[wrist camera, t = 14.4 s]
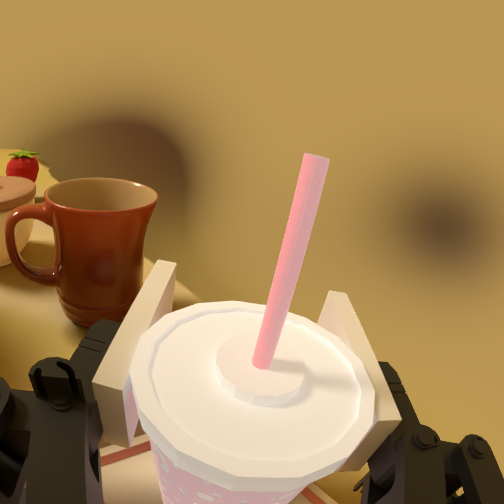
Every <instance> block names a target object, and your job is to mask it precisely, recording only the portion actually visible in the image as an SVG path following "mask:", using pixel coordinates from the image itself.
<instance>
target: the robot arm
mask: <svg viewBox="0 0 504 504" xmlns="http://www.w3.org/2000/svg"><path fill="white" fill-rule="evenodd" d="M176 266H177V263H173V262H168V261H163V260H158V261H157V262H156V264H155V265H154V267H153V269H152V271H151V272H150V274H149V276H148V277H147V279H146V281H145V283H144V284H143V286H142V288H141V290H140V291H139V293H138V295H137V297H136V298H135V300H134V302H133V304H132V306H131V307H130V309H129V311H128V313H127V315H126V317H125V318H124V320H123V322H122V323H119V322H115V321H111V320H107V319H103V318H102V319H101V320H99V321H98V322H96V323H95V324H93V325H92V326H91V327H90V328H89V330H88V331H87V333H86V334H85V336H84V339H82V341H81V342H80V344H79V347H77V349H76V350H75V352H74V354H73V355H72V357H71V358H70V360H67V359H63V358H59V357H51V358H46V359H43V360H40V361H38V362H37V363H36V364H35V365H33V366H32V368H31V370H30V372H29V374H28V375H29V378H30V381H31V384H32V386H33V389H34V391H23V390H14V389H10V387H9V385H8V384H7V382H6V381H5V379H3V378H2V377H0V504H19V501H20V498H21V495H22V491H23V488H24V485H25V482H26V500H25V504H104V499H103V489H102V475H101V458H100V450H99V446H98V445H99V442H100V440H101V437H102V434H103V436H104V440H105V442H107V443H110V444H114V445H117V446H121V447H124V448H128V449H130V448H131V444H132V441H133V437H134V434H135V430H136V427H137V424H138V420H139V415H138V411H137V407H136V403H135V399H134V395H133V391H132V389H133V386H132V382H131V378H130V365H131V362H132V359H133V356H134V353H135V351H136V348H137V345H138V342H139V339H140V337H141V335H142V334H143V333H144V332H146V331H147V330H148V329H149V328H150V327H151V326H153V325H154V324H155V323H156V322H157V321H158V320H160V319H161V318H162V317H163V316H164V315H165V314H168V313H171V312H172V306H173V295H174V285H175V276H176ZM317 325H319V326H320V327H322V328H324V329H325V330H327V331H329V332H330V333H332V334H334V335H335V336H337V337H338V338H339V339H340V340H341V341H342V342H343V343H344V344H345V345H346V346H347V347H348V348H349V349H350V350H351V351H352V352H353V353H354V354H355V355H356V356H357V357H358V358H359V359H360V360H361V361H362V363H363V365H364V367H365V370H366V372H367V374H368V376H369V378H370V381H371V383H372V385H373V387H374V390H375V401H374V415H373V424H372V426H371V427H370V429H369V430H368V431H367V433H366V434H365V436H364V437H363V438H362V440H361V441H360V442H359V444H358V445H357V446H356V448H355V449H354V450H353V452H352V453H351V454H350V455H349V457H348V458H347V459H346V460H345V462H343V463H341V464H340V466H339V467H338V468H337V472H343V471H359V470H360V469H361V468H362V467H363V465H364V464H365V463H366V462H368V466H369V469H370V471H369V472H368V473H367V474H366V475H365V476H364V477H363V478H362V479H361V480H360V481H359V482H358V483H357V484H356V485H355V487H354V489H353V491H357V490H358V489H359V488H360V487H361V486H362V485H363V489H362V490H361V493H362V496H361V504H504V479H503V476H502V473H501V471H500V469H499V466H498V464H497V461H496V459H495V457H494V455H493V452H492V450H491V448H490V446H489V444H488V443H487V441H485V440H484V439H483V438H482V437H480V436H478V435H473V434H470V435H467V436H465V438H464V439H463V440H462V441H461V442H460V443H459V444H457V443H451V442H446V441H441V440H440V438H439V436H438V435H437V433H436V432H435V431H434V430H432V429H431V428H430V427H428V426H425V425H421V424H420V423H419V420H418V418H417V416H416V413H415V411H414V409H413V407H412V404H411V402H410V400H409V398H408V396H407V394H405V392H406V391H405V389H404V387H403V385H401V380H400V378H399V376H398V375H397V372H396V371H395V370H394V369H393V368H392V367H391V366H390V365H389V363H387V362H378V361H377V359H376V357H375V355H374V352H373V350H372V348H371V346H370V344H369V341H368V339H367V337H366V335H365V333H364V330H363V328H362V326H361V324H360V322H359V320H358V317H357V315H356V313H355V311H354V309H353V307H352V305H351V303H350V300H349V299H348V296H347V294H346V293H341V292H335V291H329V292H328V295H327V298H326V301H325V303H324V306H323V309H322V311H321V314H320V317H319V320H318V323H317ZM460 487H463V491H464V494H462V495H461V496H458V495H457V494H456V491H457V490H458V489H459V488H460Z"/></svg>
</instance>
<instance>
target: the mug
mask: <svg viewBox="0 0 504 504" xmlns="http://www.w3.org/2000/svg"><path fill="white" fill-rule="evenodd" d="M158 198H159V197H158V194H157V193H156V192H155V191H154V190H153V189H151V188H149V187H147V186H145V185H142V184H139V183H136V182H132V181H127V180H121V179H113V178H82V179H73V180H68V181H64V182H60V183H57V184H55V185H53V186H51V187H49V188H48V189H46V191H45V193H44V202H42V203H34V204H26V205H22V206H19V207H17V208H15V209H14V210H13V211H12V212H11V213H10V214H9V216H8V217H7V220H6V223H5V234H4V235H5V244H6V249H7V253H8V256H9V258H10V261H11V263H12V264H13V266H14V268H15V269H16V270H17V272H18V273H19V274H20V275H21V276H22V277H24V278H25V279H27V280H29V281H31V282H34V283H37V284H40V285H43V286H47V287H56V289H57V293H58V295H59V301H60V303H61V305H62V309H63V311H64V313H65V314H66V316H67V317H68V318H69V319H70V320H72V321H73V322H75V323H77V324H79V325H82V326H85V327H89V328H90V327H91V326H92V325H93V324H95V323H96V322H98V321H99V320H101V319H102V318H103V319H107V320H111V321H115V322H119V323H122V322H123V320H124V318H125V317H126V315H127V313H128V311H129V309H130V307H131V306H132V304H133V302H134V300H135V298H136V297H137V295H138V293H139V291H140V290H141V288H142V286H143V265H144V240H145V235H146V231H147V227H148V224H149V221H150V219H151V216H152V214H153V212H154V209H155V207H156V205H157V202H158ZM23 219H37V220H40V221H42V222H44V223H45V224H47V225H49V226H51V227H52V228H53V232H54V240H55V260H54V263H53V265H51V266H49V267H34V266H32V265H30V264H28V263H27V262H26V261H25V260H24V259H23V258H22V256H21V254H20V252H19V250H18V246H17V242H16V237H15V226H16V224H17V223H18V222H19V221H21V220H23Z"/></svg>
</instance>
